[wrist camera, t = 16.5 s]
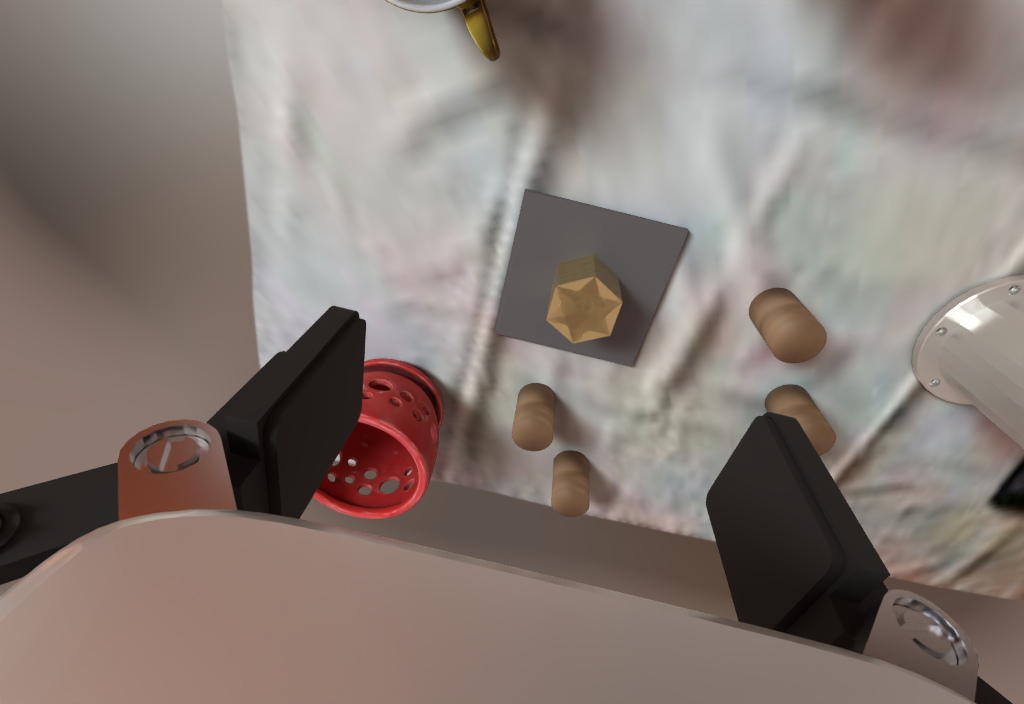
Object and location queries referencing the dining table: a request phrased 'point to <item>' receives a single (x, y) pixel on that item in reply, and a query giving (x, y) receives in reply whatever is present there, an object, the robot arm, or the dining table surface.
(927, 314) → the dining table surface
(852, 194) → the dining table surface
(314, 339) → the robot arm
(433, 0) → the ceramic cup
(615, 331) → the mat
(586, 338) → the tan faceted block
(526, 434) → the cylinder
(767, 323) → the cylinder
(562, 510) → the cylinder
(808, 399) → the cylinder
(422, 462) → the plant pot
